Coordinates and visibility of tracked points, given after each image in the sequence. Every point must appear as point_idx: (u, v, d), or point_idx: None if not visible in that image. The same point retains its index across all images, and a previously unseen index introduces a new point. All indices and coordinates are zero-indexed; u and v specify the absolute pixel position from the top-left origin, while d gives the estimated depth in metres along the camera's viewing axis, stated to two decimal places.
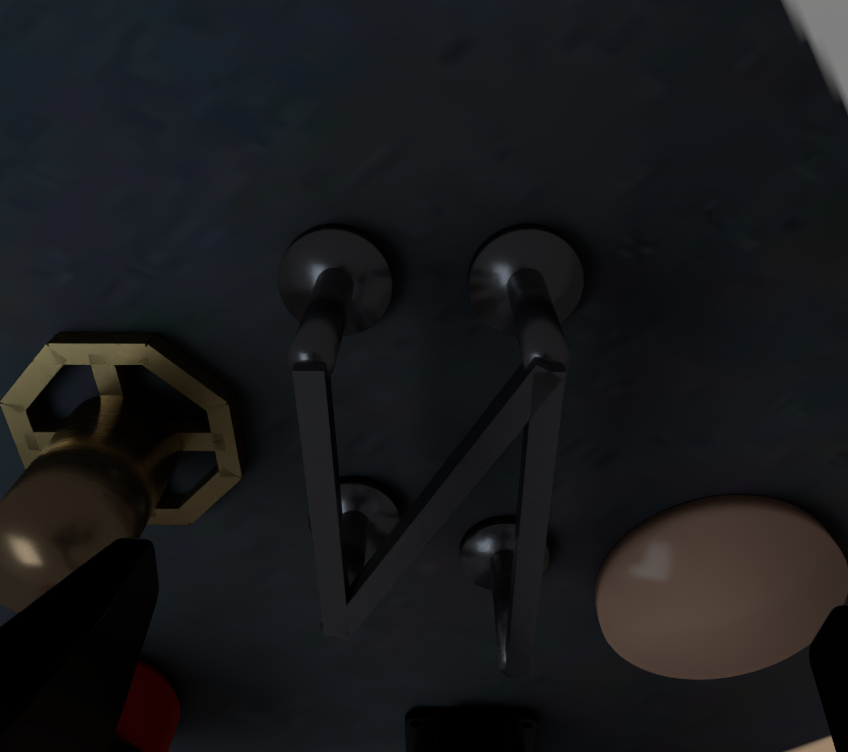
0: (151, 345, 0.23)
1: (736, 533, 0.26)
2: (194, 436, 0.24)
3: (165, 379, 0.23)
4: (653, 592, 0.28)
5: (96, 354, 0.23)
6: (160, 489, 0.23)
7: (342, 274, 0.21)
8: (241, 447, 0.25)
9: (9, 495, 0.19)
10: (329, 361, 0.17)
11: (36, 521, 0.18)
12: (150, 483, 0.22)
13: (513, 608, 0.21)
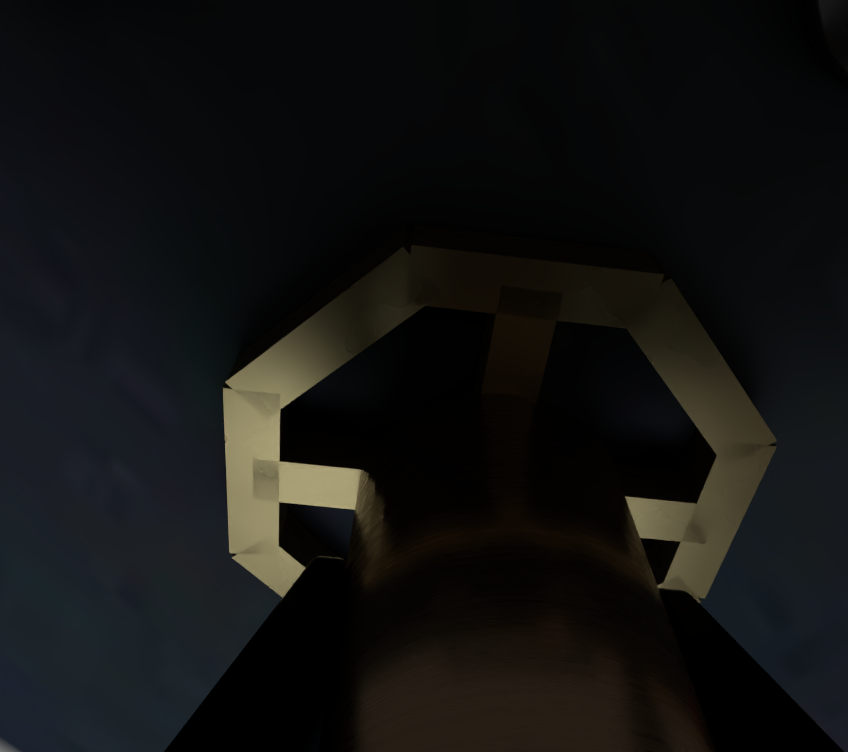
0: (231, 375, 0.10)
1: None
2: (500, 357, 0.09)
3: (322, 373, 0.09)
4: None
5: (252, 485, 0.10)
6: (560, 501, 0.08)
7: None
8: (581, 250, 0.09)
9: None
10: None
11: None
12: (504, 527, 0.07)
13: None
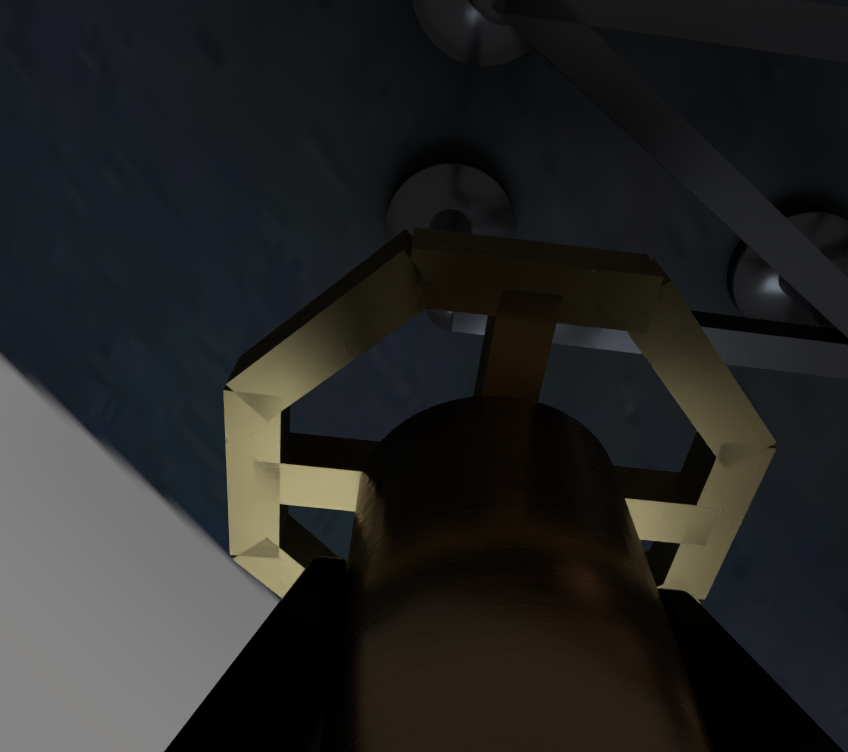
0: (231, 377, 0.10)
1: None
2: (500, 359, 0.09)
3: (323, 375, 0.09)
4: None
5: (253, 486, 0.10)
6: (560, 504, 0.08)
7: (432, 221, 0.18)
8: (581, 253, 0.09)
9: None
10: None
11: None
12: (503, 531, 0.07)
13: None
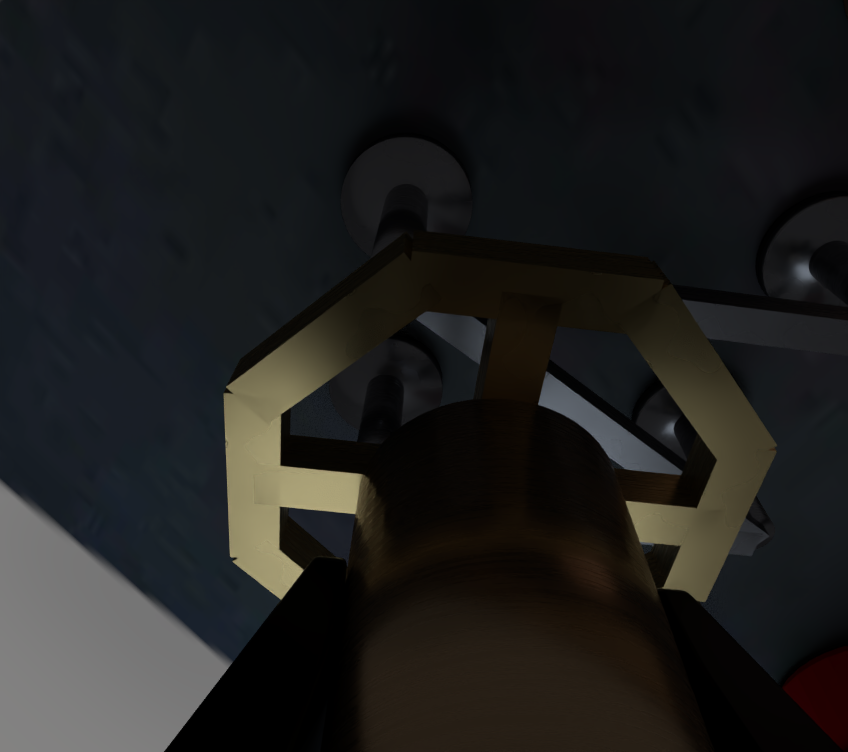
0: (231, 380, 0.10)
1: None
2: (500, 362, 0.09)
3: (323, 378, 0.09)
4: None
5: (253, 489, 0.10)
6: (561, 507, 0.08)
7: (369, 386, 0.21)
8: (581, 256, 0.09)
9: None
10: None
11: None
12: (503, 534, 0.07)
13: (790, 347, 0.15)
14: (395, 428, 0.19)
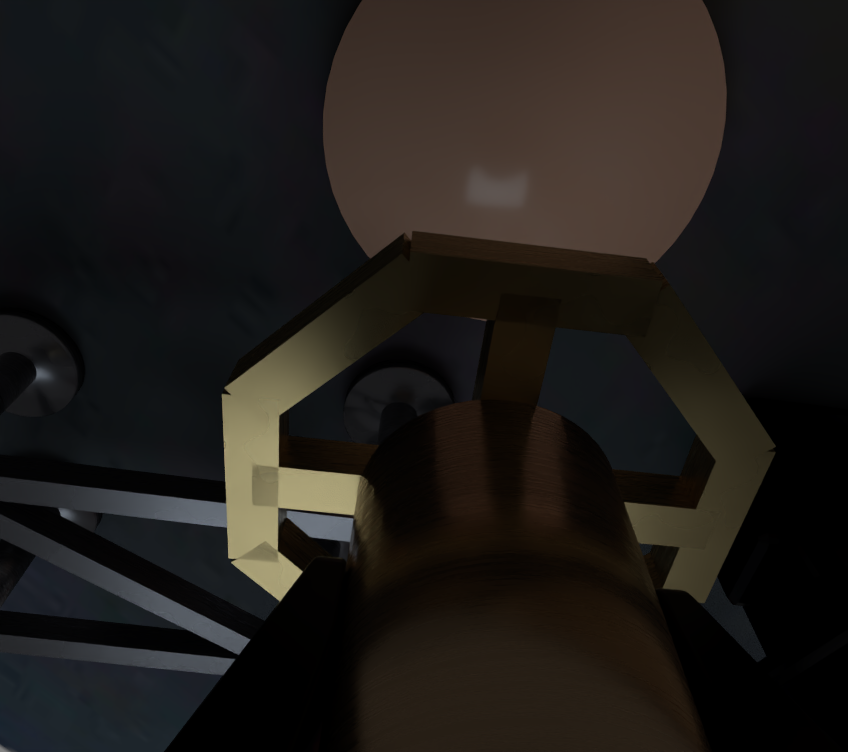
0: (230, 381, 0.10)
1: (364, 131, 0.17)
2: (499, 363, 0.09)
3: (321, 379, 0.09)
4: None
5: (251, 490, 0.10)
6: (559, 509, 0.08)
7: None
8: (580, 257, 0.09)
9: None
10: None
11: None
12: (502, 535, 0.07)
13: None
14: (15, 560, 0.22)
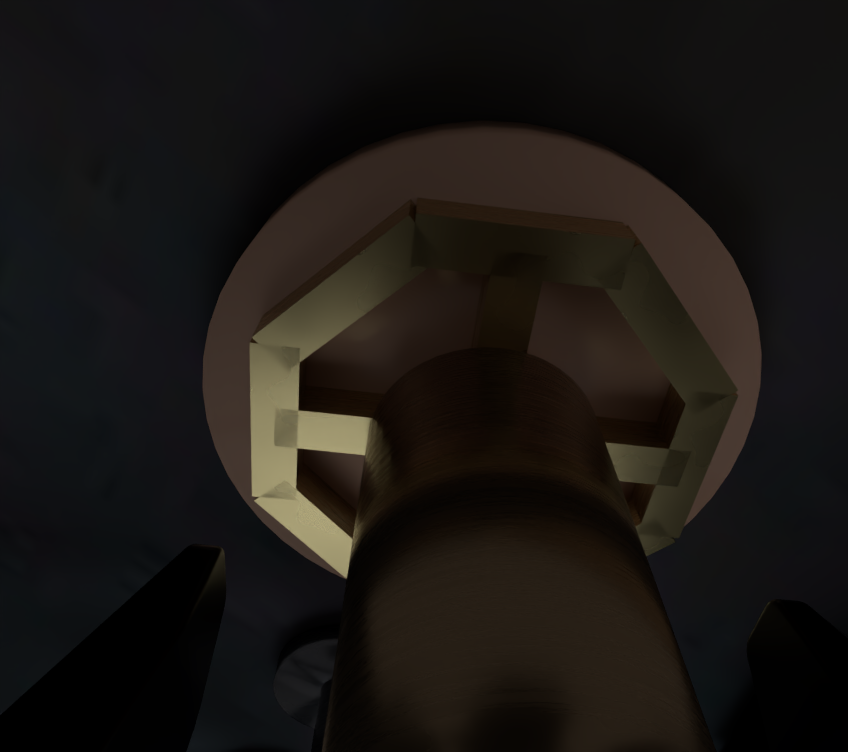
0: (256, 331, 0.11)
1: None
2: (493, 314, 0.11)
3: (337, 329, 0.11)
4: None
5: (274, 432, 0.12)
6: (544, 430, 0.09)
7: None
8: (564, 220, 0.10)
9: None
10: None
11: None
12: (494, 448, 0.09)
13: None
14: None
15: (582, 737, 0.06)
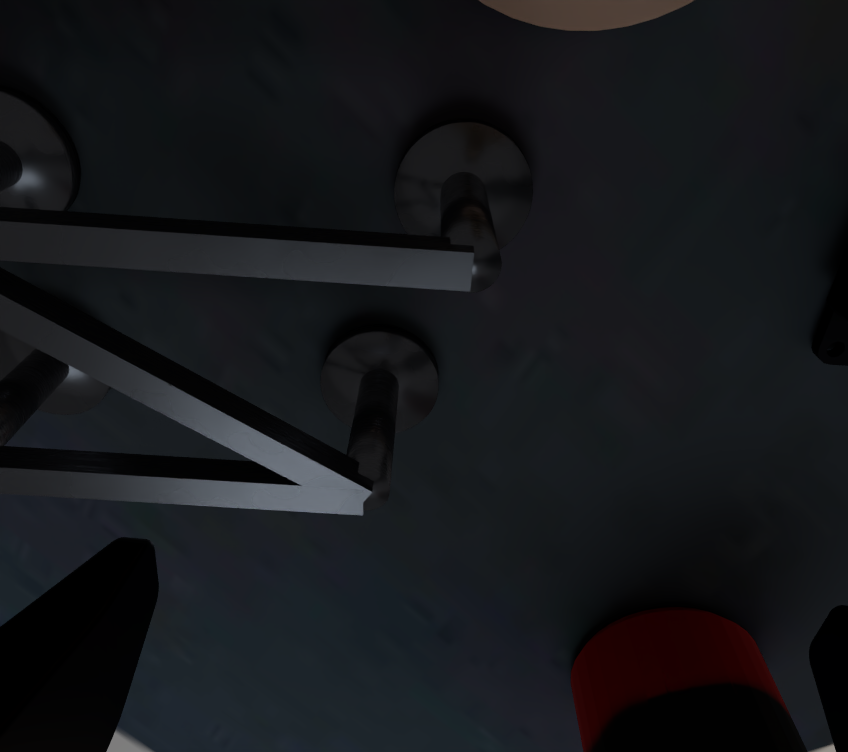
0: None
1: None
2: None
3: None
4: None
5: None
6: None
7: (23, 361, 0.20)
8: None
9: None
10: None
11: None
12: None
13: (296, 278, 0.13)
14: (14, 400, 0.18)
15: None
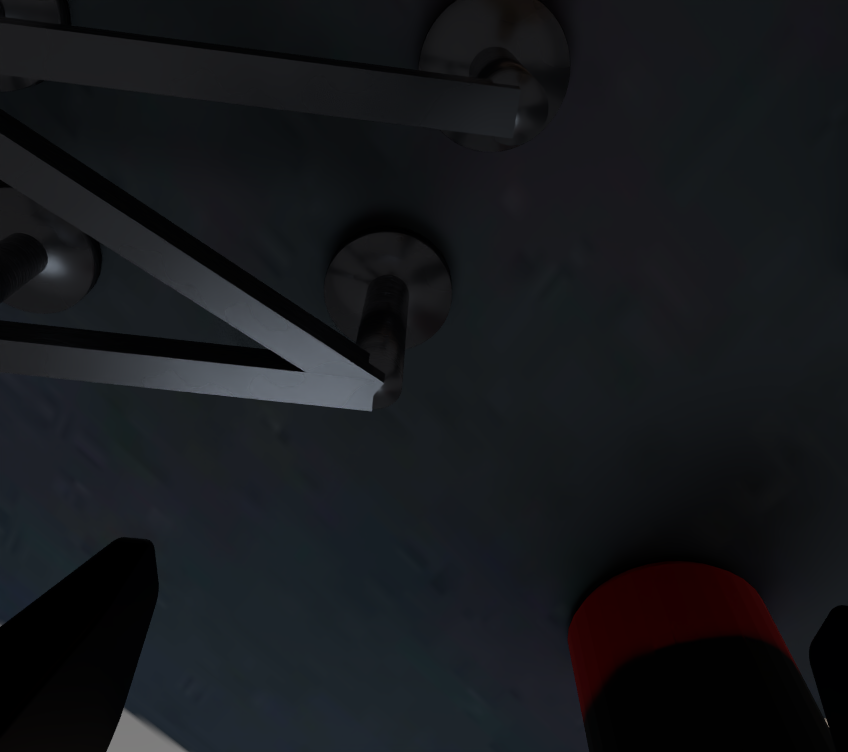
0: None
1: None
2: None
3: None
4: None
5: None
6: None
7: None
8: None
9: None
10: None
11: None
12: None
13: (317, 112, 0.12)
14: None
15: None
